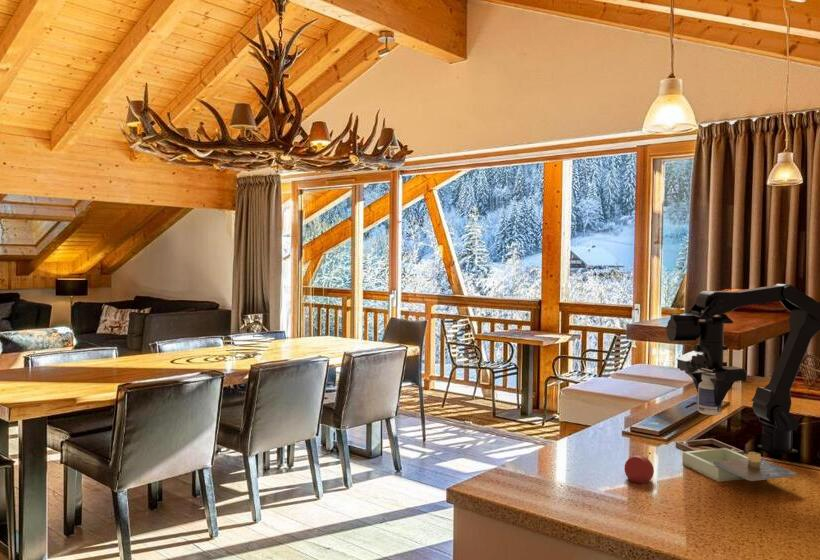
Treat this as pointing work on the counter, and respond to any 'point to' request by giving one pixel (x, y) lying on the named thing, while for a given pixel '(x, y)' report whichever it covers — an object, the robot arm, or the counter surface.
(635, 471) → the fruit
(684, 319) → the robot arm
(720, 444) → the frame
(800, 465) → the counter surface
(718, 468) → the box
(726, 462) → the lid
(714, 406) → the pill bottle
